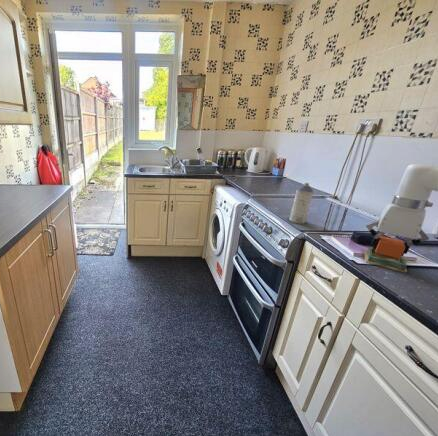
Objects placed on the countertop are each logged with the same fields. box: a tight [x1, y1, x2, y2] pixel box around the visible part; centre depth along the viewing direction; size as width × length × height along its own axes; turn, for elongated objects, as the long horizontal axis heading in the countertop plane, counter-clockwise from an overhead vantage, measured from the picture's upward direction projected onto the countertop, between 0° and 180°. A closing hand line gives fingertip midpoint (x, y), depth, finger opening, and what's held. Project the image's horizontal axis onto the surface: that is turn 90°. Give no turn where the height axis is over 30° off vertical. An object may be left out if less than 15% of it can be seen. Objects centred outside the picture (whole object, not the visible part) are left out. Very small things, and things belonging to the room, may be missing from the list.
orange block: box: [375, 235, 406, 259], centre depth 86 cm, size 6×6×4 cm
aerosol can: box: [288, 182, 314, 225], centre depth 120 cm, size 7×7×20 cm
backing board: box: [363, 246, 408, 274], centre depth 88 cm, size 11×11×3 cm
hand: (387, 250), depth 87 cm, fingers closed on orange block, 6 cm apart
